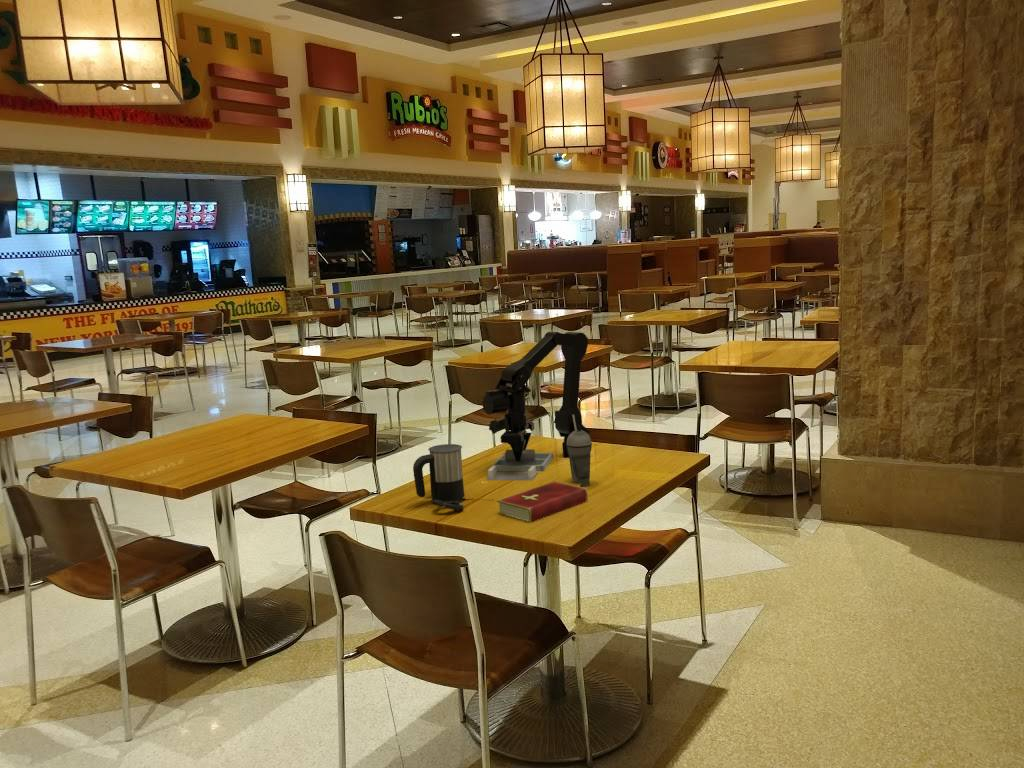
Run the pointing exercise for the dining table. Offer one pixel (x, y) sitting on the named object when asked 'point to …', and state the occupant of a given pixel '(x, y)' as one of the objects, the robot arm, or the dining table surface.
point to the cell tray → (540, 463)
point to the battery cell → (526, 457)
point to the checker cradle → (511, 474)
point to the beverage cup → (579, 455)
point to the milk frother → (442, 475)
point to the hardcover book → (542, 501)
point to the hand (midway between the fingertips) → (519, 459)
